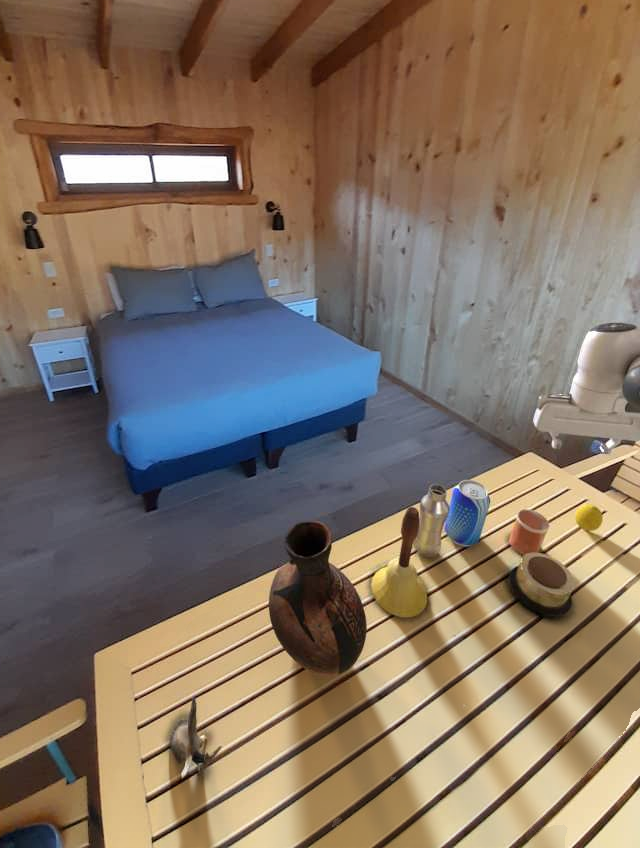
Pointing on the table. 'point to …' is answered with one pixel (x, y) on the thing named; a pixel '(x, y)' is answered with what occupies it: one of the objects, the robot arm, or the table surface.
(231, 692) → the table surface
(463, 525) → the beer can
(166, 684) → the table surface
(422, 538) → the silver metal bottle
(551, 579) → the tan hollow cylinder
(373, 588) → the handbell
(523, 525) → the terracotta cup
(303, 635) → the ceramic vessel
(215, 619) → the table surface
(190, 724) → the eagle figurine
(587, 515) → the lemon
